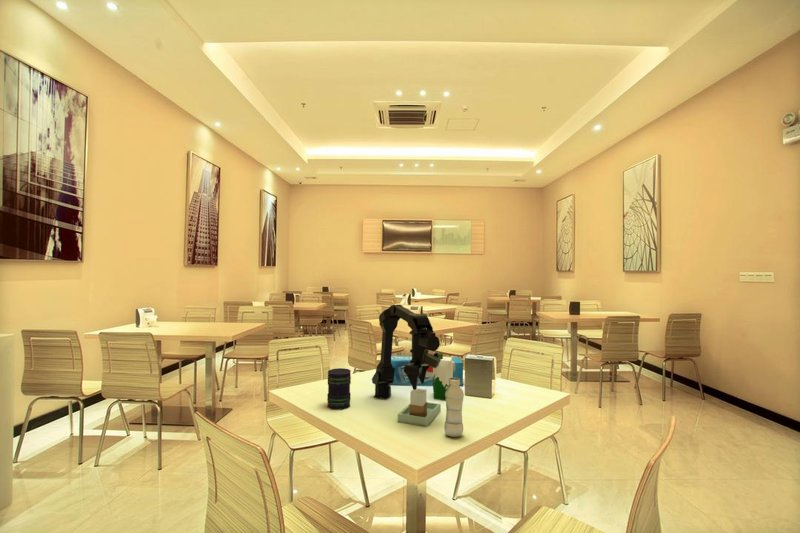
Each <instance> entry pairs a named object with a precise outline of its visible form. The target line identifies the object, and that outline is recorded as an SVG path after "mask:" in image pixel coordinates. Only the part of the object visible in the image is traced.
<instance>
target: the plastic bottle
mask: <svg viewBox="0 0 800 533" xmlns="http://www.w3.org/2000/svg"><path fill="white" fill-rule="evenodd" d="M449 384H450V386H449V387H448V388H447V390H446V392H445V398H446V400H445V403H446V404H445V407H446V410H445V412H446V415H445V422H444V427H443V428H444V433H445V435H446V436H448V437H451V438H458V437H461V436H462V435H463V432H464V423H463V402H464V396H465V393H464V391H463V389H462V388H461V387H460V386H459V385H460V379H459V378H449Z"/></svg>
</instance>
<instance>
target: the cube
mask: <svg viewBox="0 0 800 533" xmlns="http://www.w3.org/2000/svg"><path fill="white" fill-rule="evenodd" d="M427 396H428V395H427V389H423V388H416V390H414V389H413V388H412V390H410V396H409V397H410V399H409V400H410V403H409V404H411V405H418V406H423V405H424V404H425V403H426V402H427Z"/></svg>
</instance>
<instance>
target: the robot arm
mask: <svg viewBox="0 0 800 533" xmlns="http://www.w3.org/2000/svg"><path fill="white" fill-rule="evenodd" d="M378 320H379V321H378V322H379V326H380V328H381V331H382V336H381V349H380V361H379V363H378V364H377V366H376V368H375V372H374V374H373V375H372V378H371V382H372V384H373V385H374V395H373V398H376V399H381V400H382V399H384V400H387V399H388V398H390V397H391V396H392V387H391V386H392V385H390V383H393V380H394V376H395V374H394V372H395V368H394V367H393V366H392V364H391V356H392V355H393V354H392V353H393V342H394V340H393V339H394V332H395V331H396V329H397V327H398V324H399V321H400V320H403V321H405V322H406V323H407V326H408V327H409V328H410V329H411V330H410V331H409V335H411V349H410V350H409V353H410V354H411V356H412V359H411V360H410V363H408V364H407V365H405V366H404V373H405V374H406V375H407V377H408V379H409V381H410V383H411V385H410V386H411V388H412V390H413V389H414V390H416V388H417V387H418V386H417V382H418V376H419V379H420V382H421V383H422V384H423V383H424V380H425V376H426V372H427V370H428V369H429V368H430V367H431V366H432V367H433V368H436V367H437V366H438V365H439V362H440V361H441V358H440V354H439V353H440V352H435V351H437V350H439V348H440V347H441V346H440V345H441V341H440V339H439V337H438V336H436V332H434V328H433V326H432V324H431V321H430V318H429V316H428V315H426V314H423V313H415V312H413V311H412V310H410V309H408V308H406V307H404V306H403V305H402V304H392V305H390V306H389V307H388V308H386V309H384V310H383V311H382V312H381V313H380V314H379V317H378ZM429 351H430V352H435V354H434V353H429ZM412 363H413V364H412ZM417 389H418V388H417Z"/></svg>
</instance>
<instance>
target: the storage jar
mask: <svg viewBox="0 0 800 533" xmlns="http://www.w3.org/2000/svg"><path fill="white" fill-rule="evenodd" d="M351 378H352V376H351V370H350V369H348V368H344V367H343V368H331V369H329V370H328V371H327V386H328V387H327V389H328V391H327V392H328V393H327V397H326V398H327V399H326V400H327V408H328V409H329V410H334V411H341V410H346V409H349V408H350V407H351V397H352V396H351V384H352V379H351Z"/></svg>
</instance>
